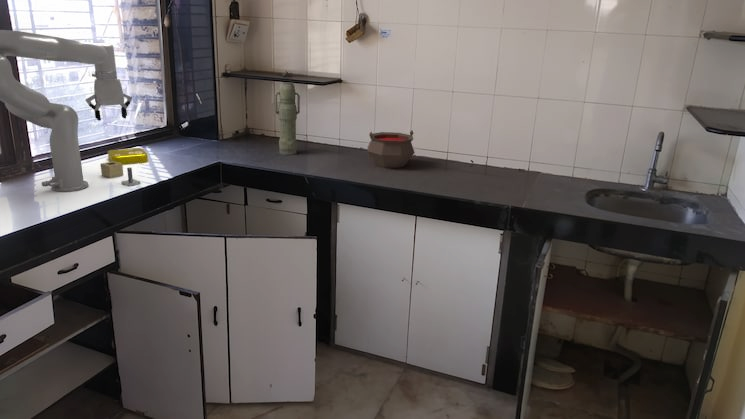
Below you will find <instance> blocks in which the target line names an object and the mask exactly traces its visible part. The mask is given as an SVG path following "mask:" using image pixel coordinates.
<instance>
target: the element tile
mask: <svg viewBox="0 0 745 419" xmlns="http://www.w3.org/2000/svg"><path fill="white" fill-rule="evenodd" d="M107 158H108V162H112V161H115V162H118V163H122V165H123V166H125V165H126V166H127V165H135V164H136V165H137V164H138V163H139V164H147V163H148V162H149V159H148V152H146V150H144V149H143V148H142V147H135V148H122V149H121V148H120V149H110V150H108V151H107Z"/></svg>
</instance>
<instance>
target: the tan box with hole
mask: <svg viewBox="0 0 745 419" xmlns="http://www.w3.org/2000/svg"><path fill="white" fill-rule="evenodd" d="M99 166H100V172H101V176H103V177H105V178H108V179H112V178H117V177H121V176H124V165H122V163H118V162H115V161H112V162H110V161H108V162H102V163H100V164H99Z"/></svg>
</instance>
